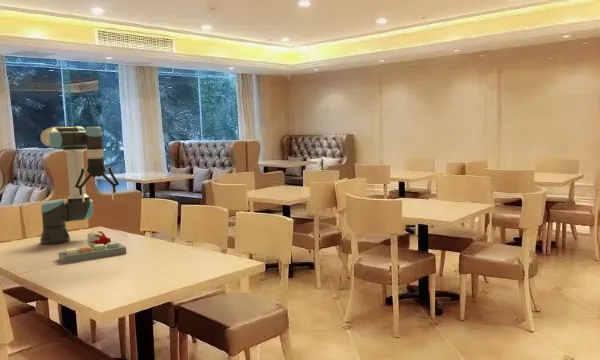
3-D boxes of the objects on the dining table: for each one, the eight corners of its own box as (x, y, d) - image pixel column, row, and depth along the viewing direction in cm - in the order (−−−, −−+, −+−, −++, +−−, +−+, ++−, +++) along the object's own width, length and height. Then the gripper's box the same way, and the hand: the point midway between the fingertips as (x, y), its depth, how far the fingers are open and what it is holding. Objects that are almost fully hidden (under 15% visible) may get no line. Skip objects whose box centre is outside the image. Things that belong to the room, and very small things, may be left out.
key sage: (93, 250, 252) (93, 245, 251) (103, 248, 254) (102, 243, 254) (96, 251, 248) (95, 246, 248) (105, 250, 251) (105, 245, 250)
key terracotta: (80, 252, 248) (79, 247, 248) (89, 250, 250) (89, 245, 250) (82, 254, 244) (81, 248, 244) (91, 252, 247) (91, 247, 247)
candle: (89, 244, 275) (116, 247, 274) (78, 248, 264) (106, 252, 263) (90, 227, 274) (116, 230, 273) (79, 231, 263) (107, 235, 262)
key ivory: (65, 254, 244) (65, 249, 244) (75, 253, 247) (75, 247, 246) (67, 256, 241) (67, 250, 240) (77, 254, 243) (77, 249, 243)
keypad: (58, 259, 246) (58, 252, 245) (119, 249, 262) (119, 243, 262) (63, 263, 237) (63, 256, 236) (126, 253, 253) (126, 247, 253)
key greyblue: (107, 248, 255) (107, 243, 255) (116, 246, 258) (116, 241, 258) (109, 249, 252) (109, 244, 252) (118, 248, 254) (118, 243, 254)
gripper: (67, 159, 243) (70, 203, 245) (122, 157, 252) (125, 199, 254) (68, 158, 250) (71, 201, 252) (121, 156, 259) (124, 197, 261)
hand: (98, 200), depth 253 cm, fingers open, 13 cm apart
